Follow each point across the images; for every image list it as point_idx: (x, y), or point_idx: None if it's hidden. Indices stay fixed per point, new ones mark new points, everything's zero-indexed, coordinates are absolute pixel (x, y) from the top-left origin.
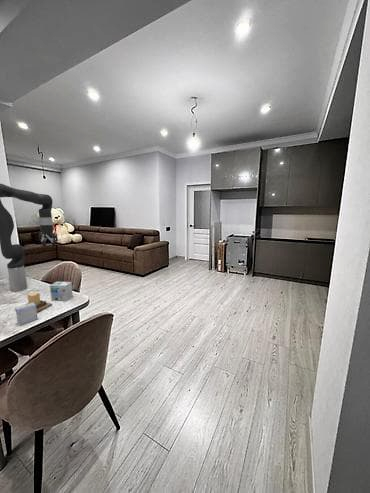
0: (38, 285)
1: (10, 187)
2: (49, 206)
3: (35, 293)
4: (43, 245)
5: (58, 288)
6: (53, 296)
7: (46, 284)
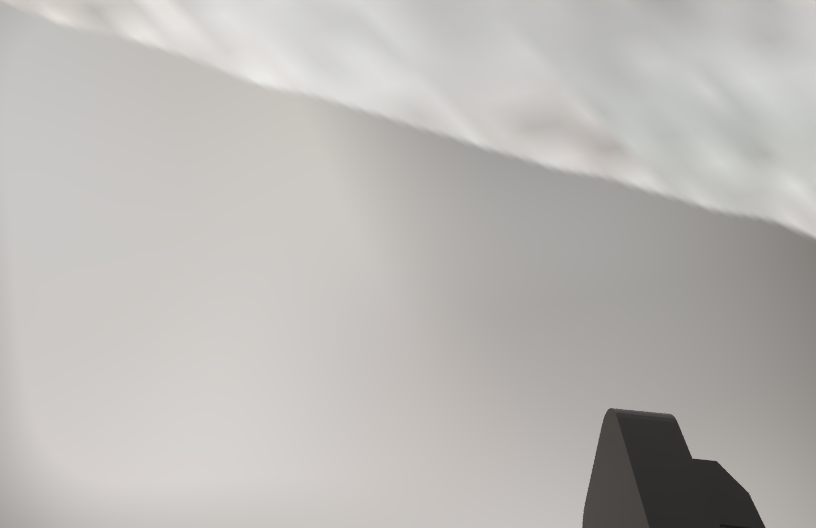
0: (800, 144)
1: None
2: None
3: None
4: (625, 475)
5: None
6: None
7: (707, 199)
